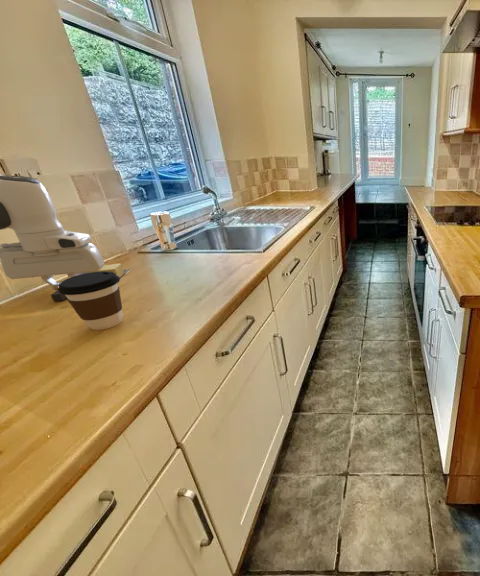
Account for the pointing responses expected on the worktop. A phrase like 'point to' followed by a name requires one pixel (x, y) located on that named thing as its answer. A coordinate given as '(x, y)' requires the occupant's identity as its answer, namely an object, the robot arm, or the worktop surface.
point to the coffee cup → (94, 298)
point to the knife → (59, 296)
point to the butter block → (112, 269)
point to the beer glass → (164, 230)
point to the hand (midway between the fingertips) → (66, 288)
